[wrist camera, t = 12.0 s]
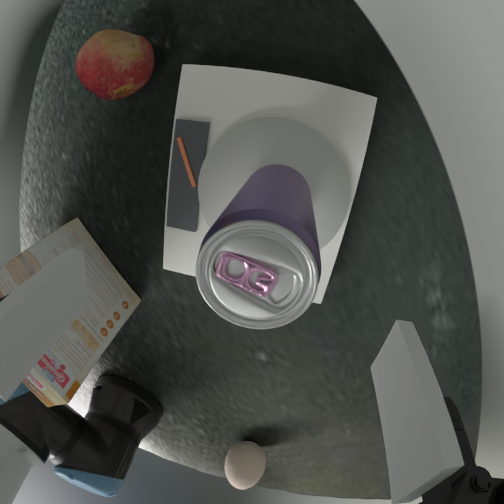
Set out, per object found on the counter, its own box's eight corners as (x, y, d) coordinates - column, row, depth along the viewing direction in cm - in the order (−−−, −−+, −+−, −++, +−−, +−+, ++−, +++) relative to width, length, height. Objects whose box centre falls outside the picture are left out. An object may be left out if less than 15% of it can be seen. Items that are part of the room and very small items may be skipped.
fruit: (180, 58, 26) (144, 44, 19) (137, 113, 29) (94, 116, 22) (134, 26, 24) (94, 10, 17) (96, 78, 27) (51, 76, 20)
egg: (222, 439, 54) (211, 484, 44) (246, 429, 50) (235, 479, 40) (252, 453, 55) (244, 496, 45) (276, 443, 52) (270, 491, 42)
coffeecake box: (56, 240, 38) (-36, 310, 21) (78, 214, 36) (-29, 287, 18) (115, 316, 42) (47, 409, 25) (143, 300, 40) (69, 405, 22)
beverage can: (260, 152, 25) (217, 193, 12) (322, 181, 26) (348, 255, 12) (234, 210, 28) (176, 301, 15) (292, 237, 28) (284, 348, 15)
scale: (172, 257, 36) (159, 272, 32) (193, 68, 26) (178, 62, 23) (319, 289, 35) (321, 309, 31) (369, 99, 25) (380, 97, 21)
